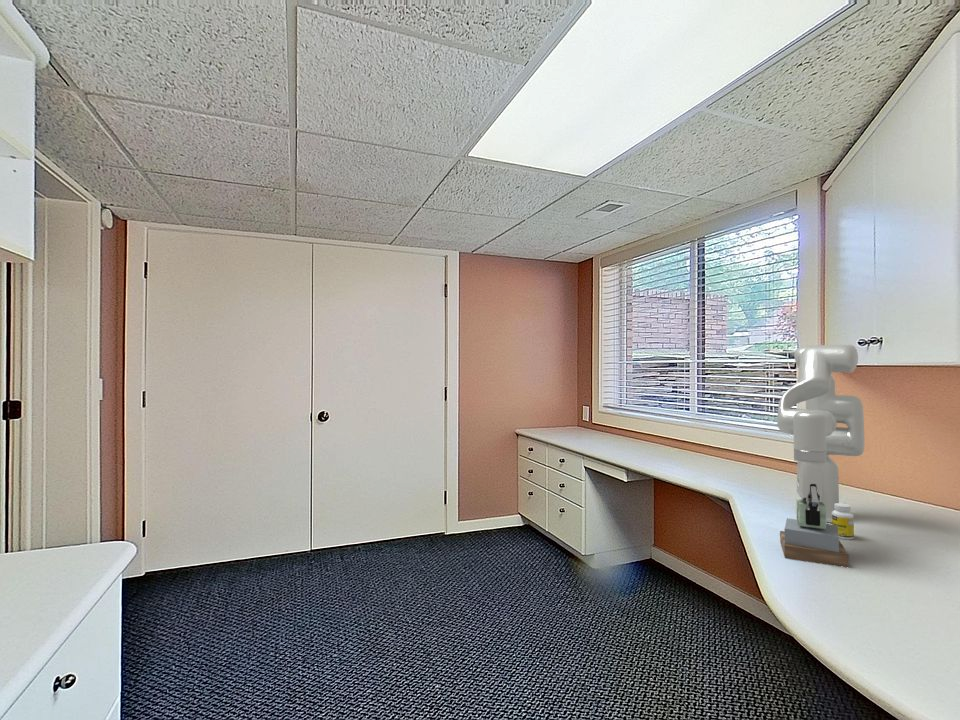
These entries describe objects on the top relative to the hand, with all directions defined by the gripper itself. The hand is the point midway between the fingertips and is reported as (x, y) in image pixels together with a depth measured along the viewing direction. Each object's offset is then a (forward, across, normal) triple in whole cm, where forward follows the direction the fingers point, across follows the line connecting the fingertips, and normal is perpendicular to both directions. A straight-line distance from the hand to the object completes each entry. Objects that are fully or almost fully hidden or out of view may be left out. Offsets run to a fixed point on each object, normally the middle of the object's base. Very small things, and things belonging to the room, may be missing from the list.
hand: (810, 521), depth 136 cm
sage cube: (+1, 0, 0) cm, 1 cm away
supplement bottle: (+9, -21, +11) cm, 25 cm away
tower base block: (+10, 0, 0) cm, 10 cm away
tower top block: (+6, 0, 0) cm, 6 cm away
